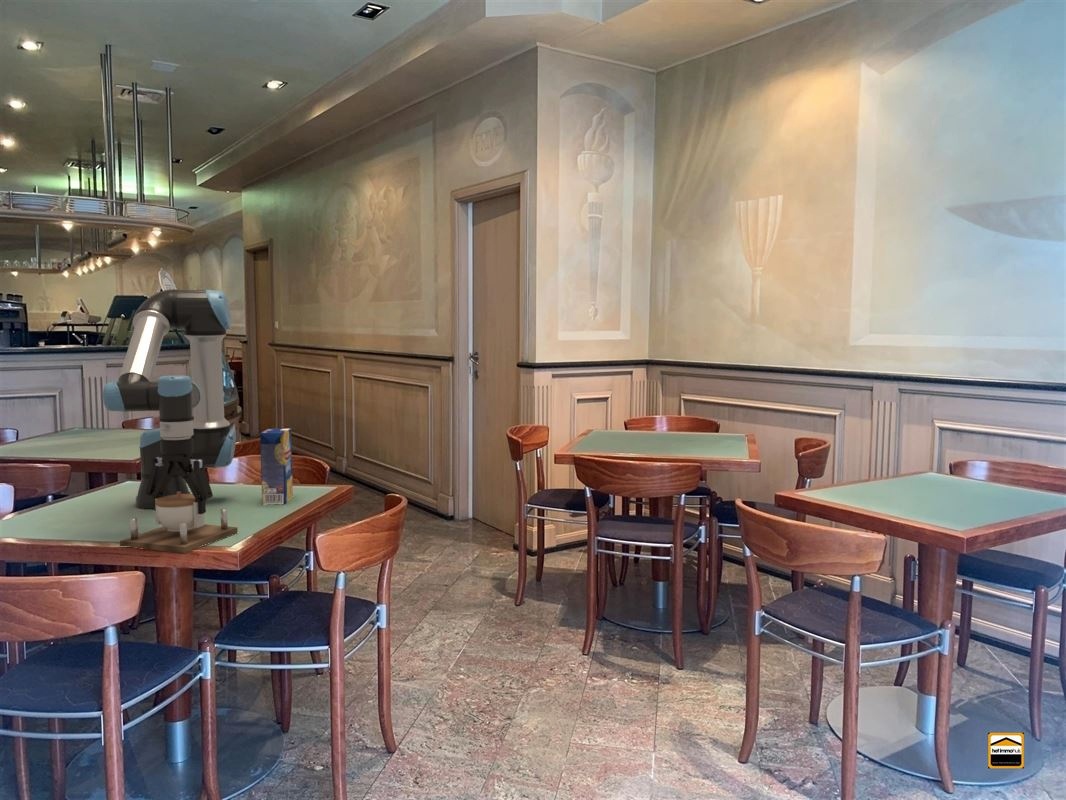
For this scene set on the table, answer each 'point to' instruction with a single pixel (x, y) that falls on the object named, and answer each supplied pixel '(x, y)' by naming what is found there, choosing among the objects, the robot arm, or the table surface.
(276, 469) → the beverage box
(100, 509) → the table surface
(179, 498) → the lidded jar
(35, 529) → the table surface
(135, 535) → the corner pegs
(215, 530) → the peg board
